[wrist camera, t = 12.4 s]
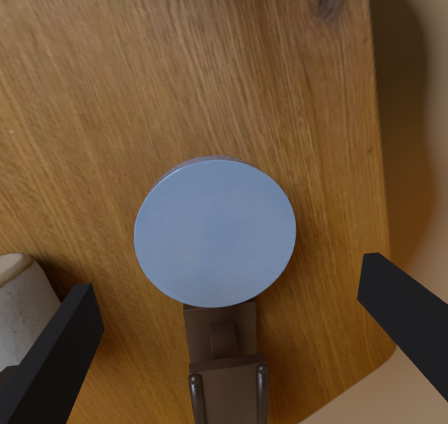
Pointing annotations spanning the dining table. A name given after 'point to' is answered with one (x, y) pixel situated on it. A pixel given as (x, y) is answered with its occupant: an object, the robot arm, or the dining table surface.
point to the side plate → (214, 232)
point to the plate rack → (226, 365)
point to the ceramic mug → (22, 306)
